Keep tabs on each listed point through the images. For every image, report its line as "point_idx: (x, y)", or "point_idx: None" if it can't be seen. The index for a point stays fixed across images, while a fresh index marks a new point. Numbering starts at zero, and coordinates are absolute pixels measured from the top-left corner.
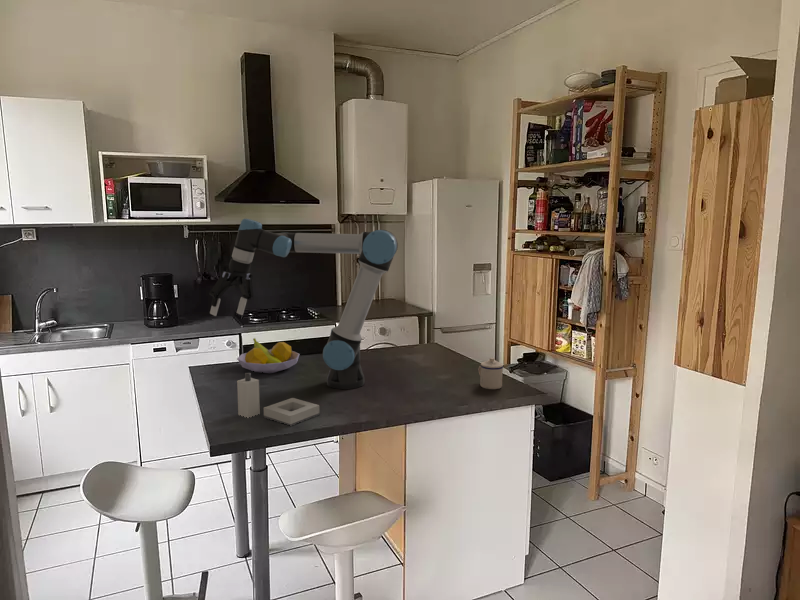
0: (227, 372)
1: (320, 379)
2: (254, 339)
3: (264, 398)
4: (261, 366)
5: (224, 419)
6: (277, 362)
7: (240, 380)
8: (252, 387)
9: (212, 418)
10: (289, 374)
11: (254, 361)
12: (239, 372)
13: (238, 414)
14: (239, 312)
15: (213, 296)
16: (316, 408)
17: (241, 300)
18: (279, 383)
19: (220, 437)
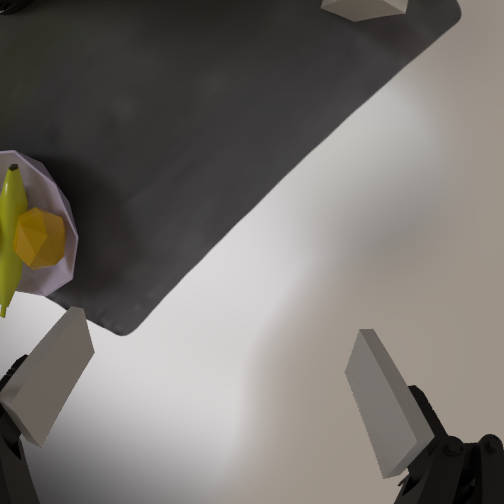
0: (102, 269)
1: (14, 39)
2: (3, 313)
3: (217, 27)
4: (58, 187)
5: (386, 39)
6: (13, 182)
7: (399, 4)
8: None
9: (389, 66)
10: (19, 136)
11: (55, 224)
12: (83, 249)
13: (354, 21)
14: (83, 338)
15: (488, 438)
16: None
17: (44, 416)
18: (83, 90)
19: (447, 13)
